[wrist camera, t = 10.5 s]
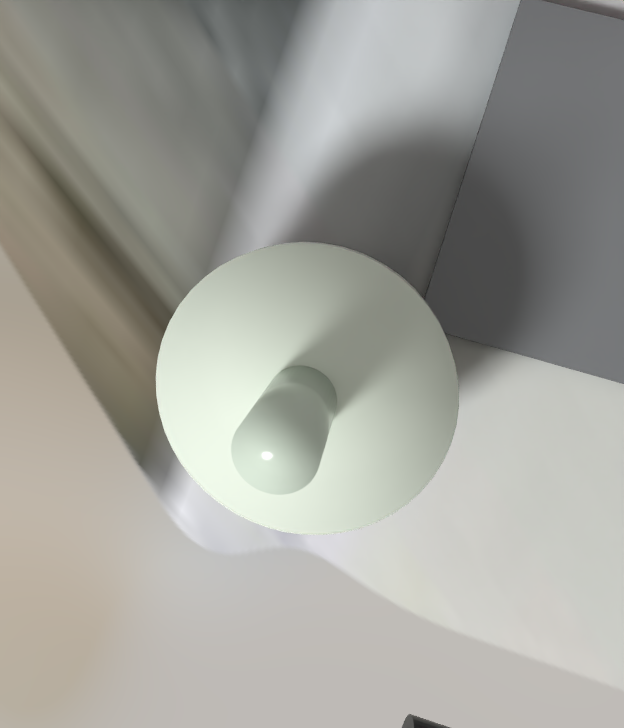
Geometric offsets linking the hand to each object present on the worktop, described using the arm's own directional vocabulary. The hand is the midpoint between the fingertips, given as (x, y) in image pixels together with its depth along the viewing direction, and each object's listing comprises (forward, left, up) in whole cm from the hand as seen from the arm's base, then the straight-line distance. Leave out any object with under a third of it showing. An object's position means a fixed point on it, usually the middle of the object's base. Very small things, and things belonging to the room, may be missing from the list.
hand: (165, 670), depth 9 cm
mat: (-11, -10, -20) cm, 25 cm away
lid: (0, 0, -15) cm, 15 cm away
